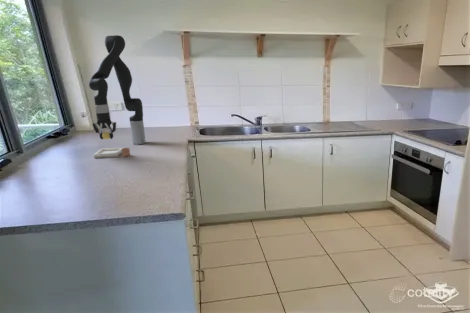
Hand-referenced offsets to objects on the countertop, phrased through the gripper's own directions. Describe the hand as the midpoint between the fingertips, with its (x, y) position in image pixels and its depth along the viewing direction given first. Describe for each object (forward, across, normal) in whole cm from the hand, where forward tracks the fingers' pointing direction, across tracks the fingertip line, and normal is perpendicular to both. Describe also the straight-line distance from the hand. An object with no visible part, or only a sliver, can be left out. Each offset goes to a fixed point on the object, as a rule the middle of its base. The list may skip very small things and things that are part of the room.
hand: (106, 138), depth 175 cm
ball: (-2, 0, 0) cm, 2 cm away
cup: (+10, -12, +6) cm, 17 cm away
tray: (+10, 0, 0) cm, 10 cm away
